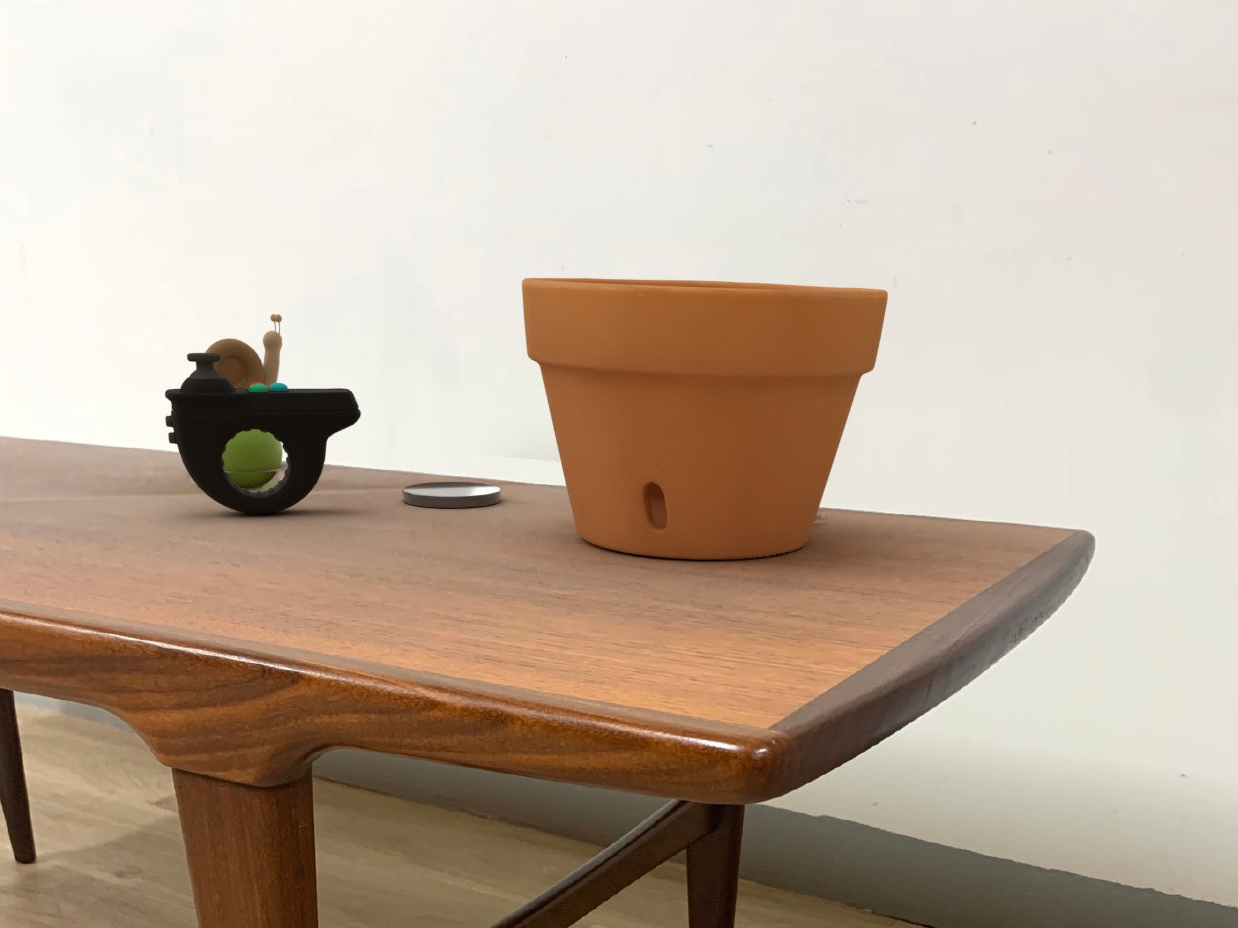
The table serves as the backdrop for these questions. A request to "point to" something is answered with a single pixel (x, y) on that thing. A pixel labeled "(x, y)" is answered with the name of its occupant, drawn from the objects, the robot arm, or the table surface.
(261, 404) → the controller
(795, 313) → the flower pot
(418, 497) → the slate coaster
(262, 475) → the snail figurine
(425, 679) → the table surface
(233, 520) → the table surface
